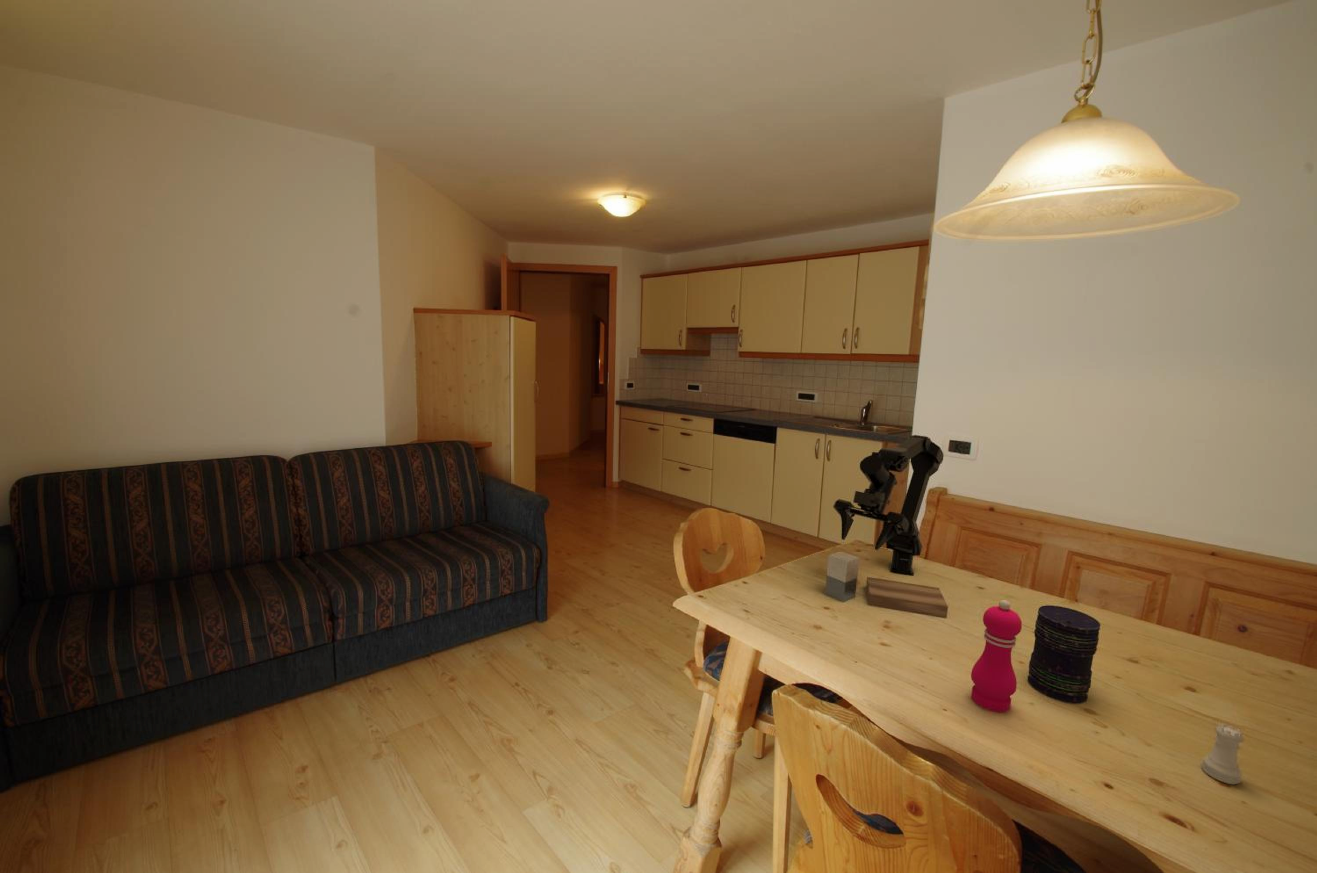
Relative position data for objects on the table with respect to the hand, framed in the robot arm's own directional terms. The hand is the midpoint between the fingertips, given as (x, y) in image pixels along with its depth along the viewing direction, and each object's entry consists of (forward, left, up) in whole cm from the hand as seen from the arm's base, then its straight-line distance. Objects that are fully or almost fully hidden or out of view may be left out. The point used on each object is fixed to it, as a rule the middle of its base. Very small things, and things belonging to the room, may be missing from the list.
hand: (858, 544), depth 144 cm
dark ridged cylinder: (+29, +37, -15) cm, 49 cm away
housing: (+1, -3, -14) cm, 15 cm away
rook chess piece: (+47, +53, -15) cm, 72 cm away
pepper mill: (+39, +23, -15) cm, 47 cm away
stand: (-2, +13, -14) cm, 19 cm away
